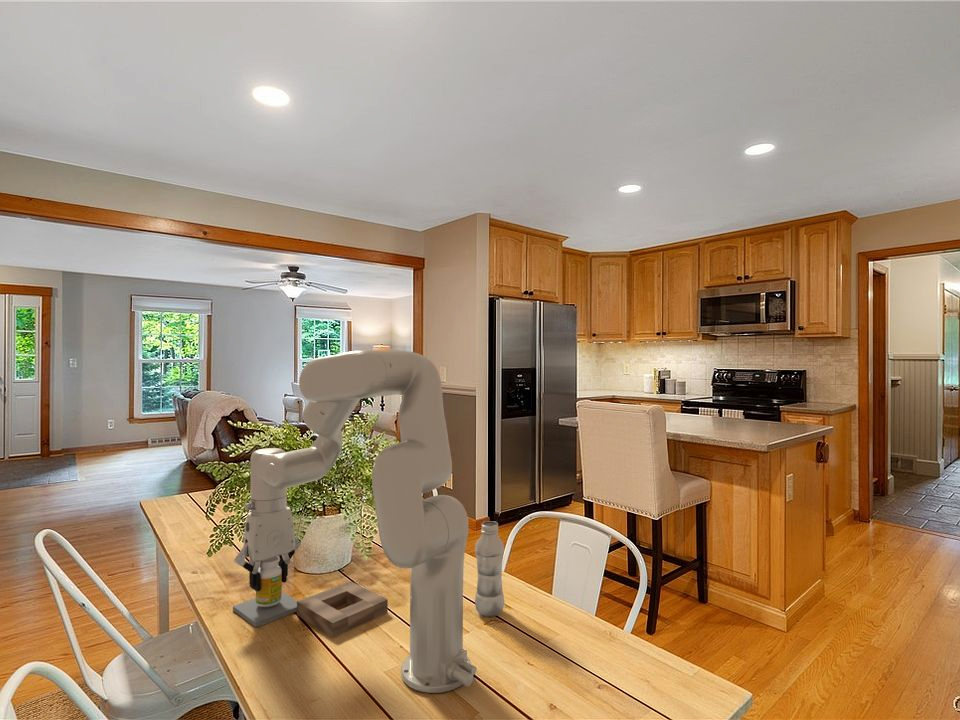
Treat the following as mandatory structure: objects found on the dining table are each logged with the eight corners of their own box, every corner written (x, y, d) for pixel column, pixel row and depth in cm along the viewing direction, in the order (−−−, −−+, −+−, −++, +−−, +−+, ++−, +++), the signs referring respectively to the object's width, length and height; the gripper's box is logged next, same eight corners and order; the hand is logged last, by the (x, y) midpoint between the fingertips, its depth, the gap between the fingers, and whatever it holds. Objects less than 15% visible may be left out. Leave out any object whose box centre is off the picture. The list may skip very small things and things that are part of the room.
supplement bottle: (272, 609, 115) (272, 564, 115) (250, 606, 116) (250, 562, 116) (286, 597, 121) (286, 555, 120) (265, 595, 122) (265, 553, 121)
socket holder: (387, 612, 117) (387, 599, 117) (332, 637, 107) (332, 623, 107) (350, 593, 127) (350, 581, 127) (296, 615, 116) (296, 601, 116)
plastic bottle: (510, 612, 117) (510, 523, 117) (490, 624, 113) (490, 530, 112) (488, 603, 122) (489, 517, 122) (468, 613, 117) (468, 523, 117)
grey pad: (303, 608, 119) (303, 604, 119) (255, 627, 111) (255, 622, 111) (279, 594, 126) (279, 589, 126) (232, 610, 118) (232, 606, 118)
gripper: (237, 516, 109) (238, 603, 109) (312, 499, 122) (312, 577, 122) (222, 509, 114) (222, 593, 114) (295, 494, 127) (295, 569, 127)
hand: (269, 584), depth 118 cm, fingers closed on supplement bottle, 5 cm apart
